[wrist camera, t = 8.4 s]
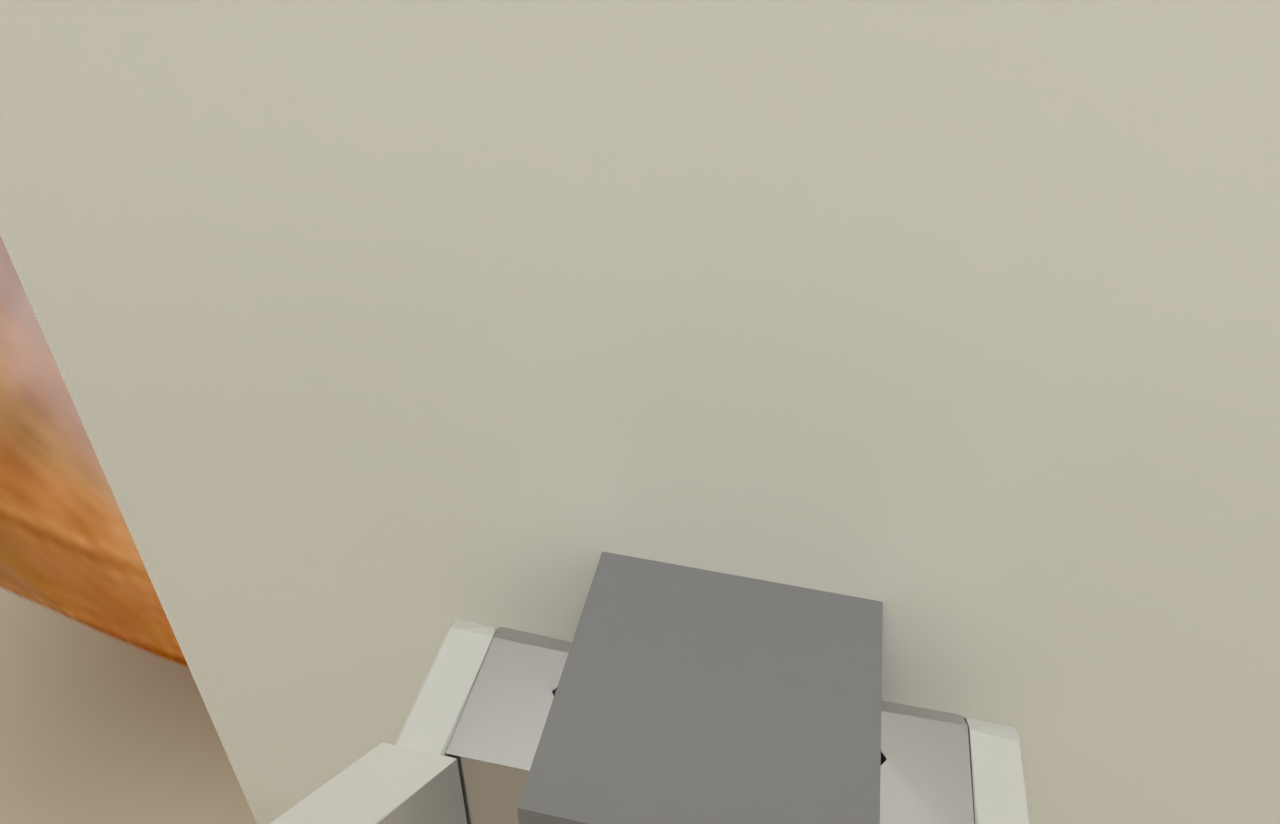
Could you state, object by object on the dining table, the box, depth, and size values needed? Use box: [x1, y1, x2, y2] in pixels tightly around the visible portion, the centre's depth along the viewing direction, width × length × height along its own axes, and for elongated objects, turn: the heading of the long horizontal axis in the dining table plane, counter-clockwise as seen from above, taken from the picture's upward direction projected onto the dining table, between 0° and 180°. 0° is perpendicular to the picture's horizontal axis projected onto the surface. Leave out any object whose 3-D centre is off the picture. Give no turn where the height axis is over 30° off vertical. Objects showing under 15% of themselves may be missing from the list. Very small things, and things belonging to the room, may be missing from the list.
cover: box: [0, 0, 1280, 824], centre depth 13 cm, size 15×15×11 cm
